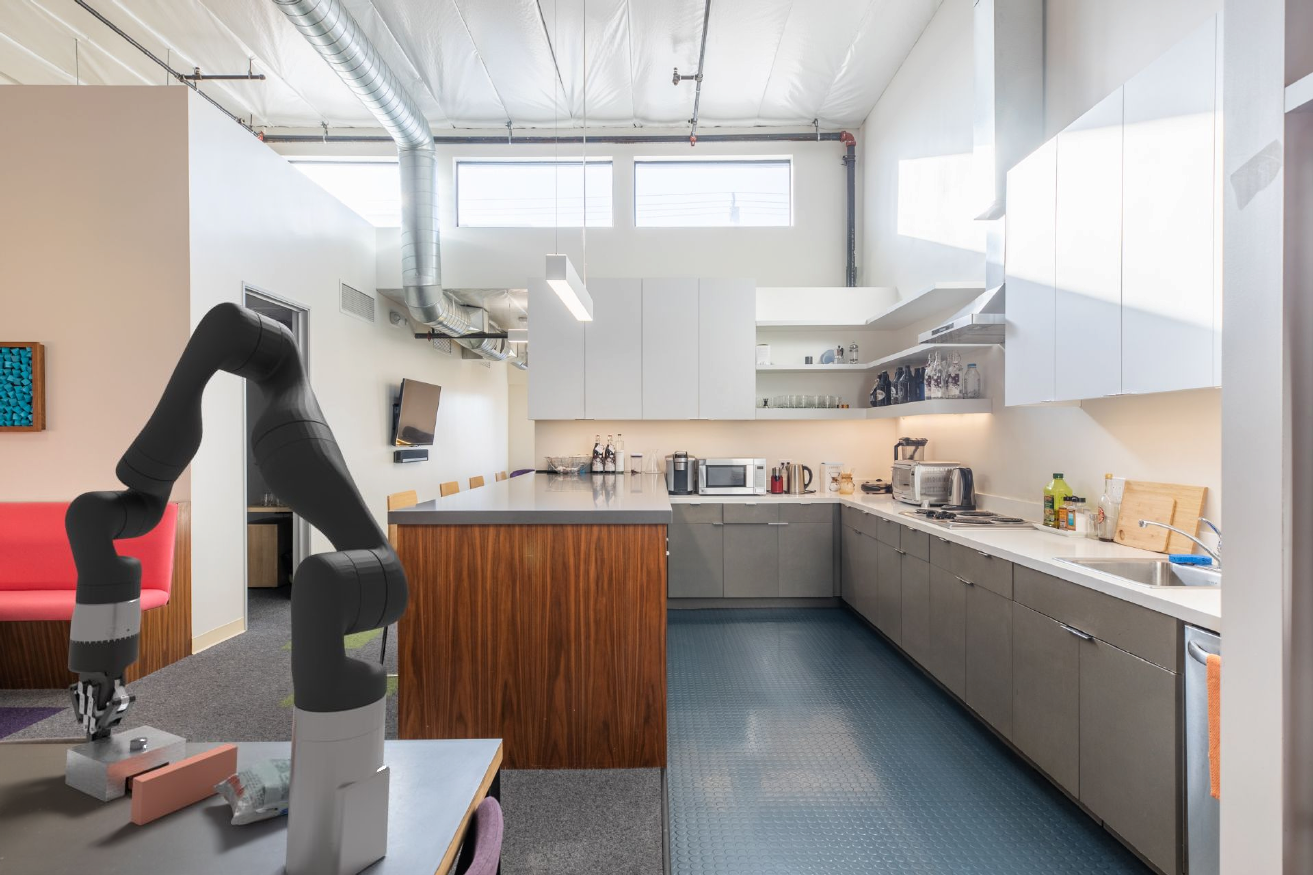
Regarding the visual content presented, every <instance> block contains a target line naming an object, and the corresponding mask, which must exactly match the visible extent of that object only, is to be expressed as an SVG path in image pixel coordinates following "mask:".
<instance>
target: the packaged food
mask: <svg viewBox="0 0 1313 875" xmlns="http://www.w3.org/2000/svg"><path fill="white" fill-rule="evenodd" d="M290 763H291V758H279V759H278V758H277V759H269V760H266V761H262V762H260V763H256V764H253V765H250V766H249V767H247V768H245V769H242V770H239V771H236V773H235V774H233V775H232V776H230V777H228V779H227V780H224V781H222V782H221V783H219V784H218V785H216V786H214V788H213V790H215V791H217V792H218V793H219V794H221V796H222V797H223V799H225V801H227V803H229V805H230V807H231V810H232V814H233V817H232V818H231V822H230V823H231V825H238V826H239V825H240V826H241V825H246V824H247V825H248V824H251V823H255V822H259V821H263V820H268V819H271V818H275V817H279V816H283V815H286V814H287V815H288V804H289V783H290Z"/></svg>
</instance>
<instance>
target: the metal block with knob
mask: <svg viewBox="0 0 1313 875" xmlns="http://www.w3.org/2000/svg"><path fill="white" fill-rule="evenodd" d="M186 745H187V738H185V737H182V736H179V735H177V734H175V733H171V732H167V731H164V730H162V729H158V728H157V727H156V728H155V727H152V726H149V725H141V726H138V727H134V728H131V729H127V730H125V731H122V732H119V733H115V734H112V735H110V736H108V737H105V738H102V739H98V740H95V741H92V742H89V743H86V742H85V743H82V744H79V745H77V746H73V747H70V748H67V750H66V753H67V754H66V766H65V767H66V769H65V770H66V771H65V781H64V782H65V784H64V785H68V786H70V787H71V788H74V789H76V790H78V791H80V792H82V793H85V794H86V795H90V796H91V797H93V798H96V799H99V800H100V801H103V802H105V803H107V802H110V801H112V800H115V799H118V798H120V797H124V796H125V795H126V794H125V793H126V791H125V790H126V778H129V776H131V775H133V774H136V773H139V772H142V771H144V770H157V769H160V768H162V767H165V766H168V765H171V764H173V763H176V762H179V761H182V760H184V759H186V747H187V746H186Z"/></svg>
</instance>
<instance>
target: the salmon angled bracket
mask: <svg viewBox="0 0 1313 875" xmlns="http://www.w3.org/2000/svg"><path fill="white" fill-rule="evenodd" d="M238 748H239V747H238V745H234V744H231V743H226V744H223V745H221V746H218V747H214V748H212V749H209V750H207V751H204V752H201V753H198V754H195V755H192V756H191V757H187V758H185V759H184V760H182V761H179V762H176V763H173V764H171V765H168V766H165V767H162V768H160V769H157V770H144V771H142V772H139V773H136V774H133V775H131V776H128V782H127V788H128V789H129V790H132V791H131V793H132V794H131V810H130V812H131V813H130V822H131V823H134V824H136V825H138V826H142V825H146V824H147V823H149V822H152V821H154V820H157V819H159V818H161V817H164V816H165V815H168V814H170V813H173V812H175V811H177V810H180V809H182V808H184V807H187V806H189V805H192V804H194V803H196V802H199V801H201V800H203V799H205V798H208V797H210V796H213V795H215V794H217V793H218V792H217V791H215V790H213V788H214V786H216V785H218V784H219V783H221V782H222V781H224V780H227V779H228V777H230V776H232V775H233V774H235V773H237V770H238V769H237V768H238V767H237V766H238V765H237V764H238Z"/></svg>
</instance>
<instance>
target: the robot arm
mask: <svg viewBox="0 0 1313 875" xmlns="http://www.w3.org/2000/svg"><path fill="white" fill-rule="evenodd" d="M218 371H223V372H226V373H229V374H231V375H235V376H238V377H241V378H244V379H247V380H249V381H252V382H253V383H254V384H256V386H257V387H258V388H259V390H260V392H261V394H262V396H263V398H264V400H265V404H266V406H265V408H264V410H263V411H262V412H261V414H260V415H259V417H258V419H257V421H256V423H255V425H254V426H253V428H252V431H251V436H250V446H251V451H252V454H253V457H254V461H255V463H256V465H257V468H258V471H259V473H260V475H261V478H262V481H263V482H264V485H265V487H266V488H267V489H268V490H269V492H270V493H271V494H272V495H273V496H274V497H275V498H276V499H277V500H278V501H279V502H280V503H282V504H283V505H284V507H287V508H288V509H289V510H290V511H292V513H295V514H296V515H297V516H299V517H300V518H301V519H303V520H304V521H306V522H307V523H309V524H310V525H312V527H313V528H315V529H316V530H318V531H319V532H320V533H321V534H323V535H324V536H325V537H326V539H327V540H328V541H329V542H330V543H331V545H332V546H333V548H334V550H335V551H328V552H326V551H325V552H319V553H314V554H310V555H308V556H306V557H305V558H304V559H303V560H302V561H301V562H300V563H299V564H298V566H297V568H296V570H295V573H294V575H293V578H292V584H291V592H290V630H291V631H290V632H291V637H290V638H291V639H290V640H291V642H290V643H291V644H290V645H291V646H290V648H291V649H290V652H291V653H290V654H291V655H290V656H291V657H290V670H291V671H290V672H291V677H292V685H293V707H292V708H293V709H292V711H293V712H292V725H291V726H292V729H291V730H292V732H291V745H290V746H291V748H290V759H291V763H290V783H289V804H288V813H287V825H286V826H287V827H286V828H287V829H286V856H285V872H286V875H357V874H358V873H360V872H362V871H363V870H365V869H366V868H368V867H369V866H371V865H372V864H374V863H375V862H377V861H378V860H380V859H381V858H383V857H384V856H386V855H387V854H388V853H387V852H388V849H387V847H388V823H389V804H390V803H389V802H390V780H391V779H390V778H391V776H390V775H391V768H390V766H389V765H387V764H386V765H385V764H384V760H385V759H384V757H385V737H386V735H385V732H386V731H385V730H386V714H387V712H386V711H387V710H386V709H387V691H388V671H387V669H386V667H385V666H384V665H383V664H381V663H379V662H378V661H374V660H371V659H363V658H358V657H356V658H355V657H349V656H347V653H346V647H345V637H346V636H350V635H354V634H361V633H364V632H368V631H374V630H377V629H382V628H385V627H388V626H391V625H394V624H396V623H397V622H398V621H400V620H401V619H402V617H403V616H404V615H405V613H406V611H407V607H408V604H409V598H410V597H409V594H410V593H409V584H408V579H407V575H406V572H405V570H404V567H403V564H402V561H401V560H400V558H399V556H398V554H397V552H396V550H395V549H394V547H393V545H392V544H391V542H390V541H389V539H388V537H387V536H386V534H385V533H384V531H383V529H382V528H381V527H380V525H379V524H378V522H377V520H376V519H375V517H374V514H373V513H372V512H371V510H370V508H369V507H368V505H367V504H366V502H365V500H364V498H363V495H362V494H361V492H360V489H359V488H358V486H357V485H356V482H355V480H354V478H353V476H352V474H351V472H350V470H349V467H348V465H347V464H346V460H345V458H344V456H343V452H342V450H341V449H340V446H339V445H338V444H339V443H338V442H337V440H336V438H335V436H334V433H333V431H332V429H331V427H330V425H329V424H328V422H327V420H326V418H325V416H324V413H323V411H322V409H321V407H320V404H319V402H318V400H317V396H316V394H315V392H314V390H313V388H312V385H311V383H310V380H309V376H308V374H307V370H306V367H305V362H304V359H303V355H302V353H301V348H300V346H299V344H298V341H297V339H296V337H295V335H294V333H293V332H292V331H291V330H290V328H289V327H288V326H287V325H285V324H284V323H281V322H280V321H278V320H277V319H273V318H270V317H269V316H266V315H263V314H261V313H259V312H257V311H254V310H252V309H250V308H248V307H245V306H243V305H240V304H238V303H235V302H230V301H228V302H227V301H226V302H222V303H218V304H216V305H214V306H213V307H212V308H210V309H209V310H208V311H207V312H206V314H205V315H203V317H202V319H201V320H200V321H199V322H198V324H197V325H196V327H195V330H194V331H193V332H192V335H191V337H190V338H189V341H188V342H187V345H186V346H185V348H184V349H183V352H182V354H181V356H180V358H179V360H178V362H177V364H176V366H175V367H174V369H173V372H172V374H171V376H170V378H169V380H168V383H167V384H166V386H165V389H164V391H163V393H162V395H161V397H160V399H159V402H158V403H157V405H156V408H155V409H154V410H153V411H152V414H151V416H150V418H149V419H148V420H147V422H146V424H145V425H144V426H143V428H142V429H141V431H139V433H138V435H137V436H136V437H135V438H134V440H133V441H132V443H131V444H130V445H129V447H128V448H127V449H126V451H125V452H124V453H123V455H121V458H119V461H118V462H117V464H116V467H115V476H116V477H117V479H118V481H119V482H120V483H121V484H123V485H124V486H126V487H127V488H126V490H125V489H124V490H96V491H95V490H94V491H88V492H83V493H81V494H79V495H78V496H77V497H75V498H73V499H72V502H70V504H69V506H68V507H67V509H66V512H65V515H64V527H65V533H66V536H67V539H68V543H69V546H70V550H71V554H72V558H73V562H74V565H75V569H76V572H77V578H76V590H75V604H74V607H73V613H72V616H71V624H70V636H69V647H68V659H67V662H68V663H67V669H68V670H69V671H70V672H73V673H76V674H77V673H78V674H79V677H78V679H79V681H78V682H76V683H73V684H70V685H69V686H68V693H69V697H70V700H71V704H72V707H73V711H74V714H75V718H76V721H77V724H78V725H82V724H83V726H82V728H83V731H84V732H86V736H85V743H89V742H92V741H95V740H98V739H102V738H105V737H108V736H112V735H111V732H112V729H113V728H117V727H121V726H122V725H123V723H124V721H125V719H126V718H127V716H128V714H129V713H130V711H131V710H132V708H133V706H134V704H135V702H136V700H137V699H136V698H137V697H136V695H135V693H130V694H127V692H126V690H125V689H126V685H127V677H126V669H127V668H128V667H129V666H130V665H133V664H135V663H136V662H137V661H138V659H139V649H140V637H141V622H142V607H141V593H142V580H143V579H142V578H143V565H142V561H141V560H140V559H139V558H137V557H134V556H129V555H121V554H120V555H119V554H118V553H117V550H116V548H115V545H114V541H117V540H126V539H127V540H128V539H136V538H141V537H144V536H145V535H147V534H149V533H150V532H152V531H153V530H154V529H155V528H156V527H157V526H159V524H160V522H161V521H162V520H163V517H164V515H165V511H166V509H167V506H168V502H169V500H170V498H171V494H172V491H173V487H174V485H175V483H176V481H177V480H178V479H179V477H180V476H181V475H182V474H183V473H184V471H185V469H186V468H187V467H188V466H189V465H190V463H191V462H192V460H193V459H194V458H195V456H196V455H197V452H198V451H199V449H200V447H201V444H202V440H203V432H204V430H203V425H204V424H203V415H202V414H203V413H202V412H203V410H202V405H203V404H202V403H203V402H202V400H203V394H204V390H205V388H206V386H207V385H208V384H209V381H210V380H211V379H212V377H213V376H214V375H215V374H216V373H217V372H218Z"/></svg>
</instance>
